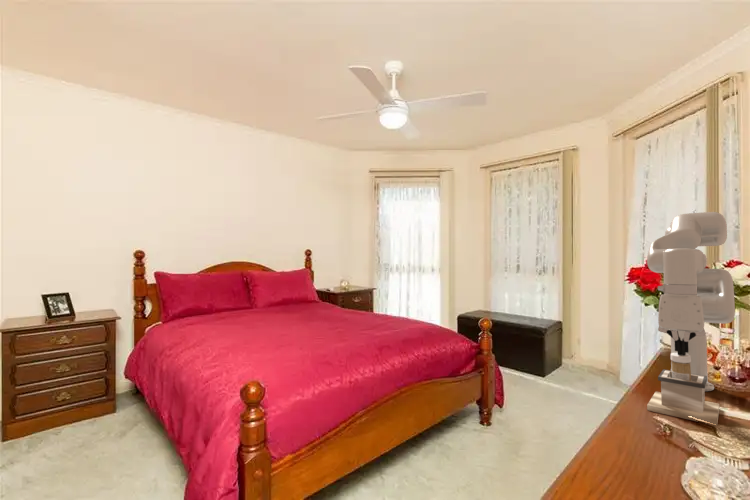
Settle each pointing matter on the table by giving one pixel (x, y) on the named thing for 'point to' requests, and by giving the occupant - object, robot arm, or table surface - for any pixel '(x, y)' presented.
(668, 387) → the silver stepped pedestal
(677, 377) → the sprinkles bottle
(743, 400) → the table surface
